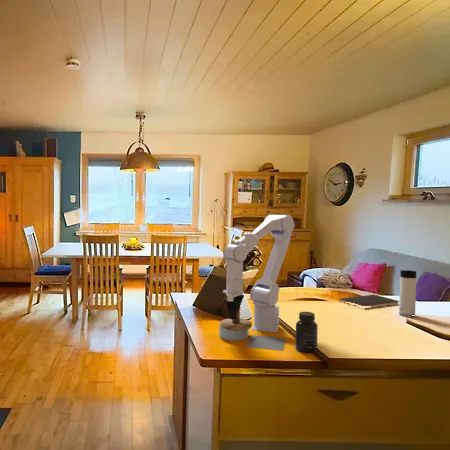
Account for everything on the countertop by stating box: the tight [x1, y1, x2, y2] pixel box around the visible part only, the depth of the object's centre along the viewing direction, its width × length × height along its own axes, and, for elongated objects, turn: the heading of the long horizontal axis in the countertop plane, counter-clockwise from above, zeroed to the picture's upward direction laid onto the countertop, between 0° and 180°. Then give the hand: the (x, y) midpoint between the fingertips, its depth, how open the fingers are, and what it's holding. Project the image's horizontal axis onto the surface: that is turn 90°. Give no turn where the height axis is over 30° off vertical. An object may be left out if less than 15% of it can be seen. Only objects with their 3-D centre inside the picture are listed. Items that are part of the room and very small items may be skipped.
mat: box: [245, 334, 287, 352], centre depth 125 cm, size 12×12×1 cm
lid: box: [219, 309, 253, 331], centre depth 131 cm, size 11×11×6 cm
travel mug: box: [398, 269, 417, 317], centre depth 161 cm, size 6×7×20 cm
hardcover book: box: [338, 294, 399, 308], centre depth 183 cm, size 16×23×2 cm
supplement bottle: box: [295, 311, 319, 354], centre depth 119 cm, size 7×7×12 cm
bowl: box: [218, 324, 250, 342], centre depth 132 cm, size 10×10×4 cm
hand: (234, 317), depth 132 cm, fingers open, 4 cm apart
